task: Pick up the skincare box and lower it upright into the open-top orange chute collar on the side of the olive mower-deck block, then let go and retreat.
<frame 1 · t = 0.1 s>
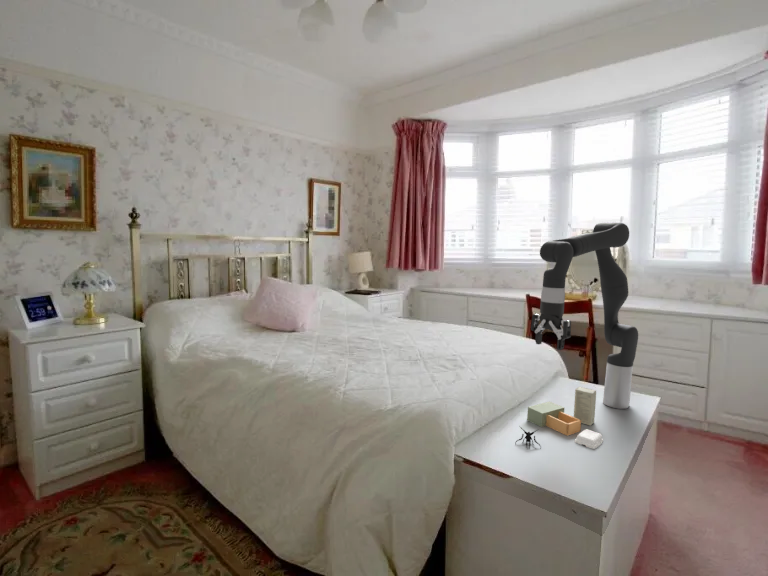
hand: (548, 346, 146), 29 cm above the table, fingers open, 8 cm apart
skincare box: (583, 422, 155), on the table
soap: (588, 442, 140), on the table
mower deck: (562, 428, 149), on the table
creature: (527, 446, 136), on the table
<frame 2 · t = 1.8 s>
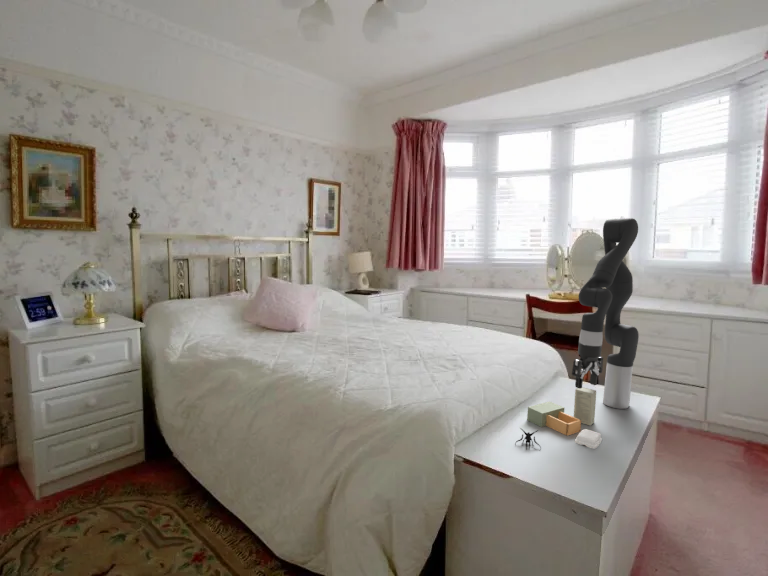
hand: (585, 386, 154), 13 cm above the table, fingers open, 8 cm apart
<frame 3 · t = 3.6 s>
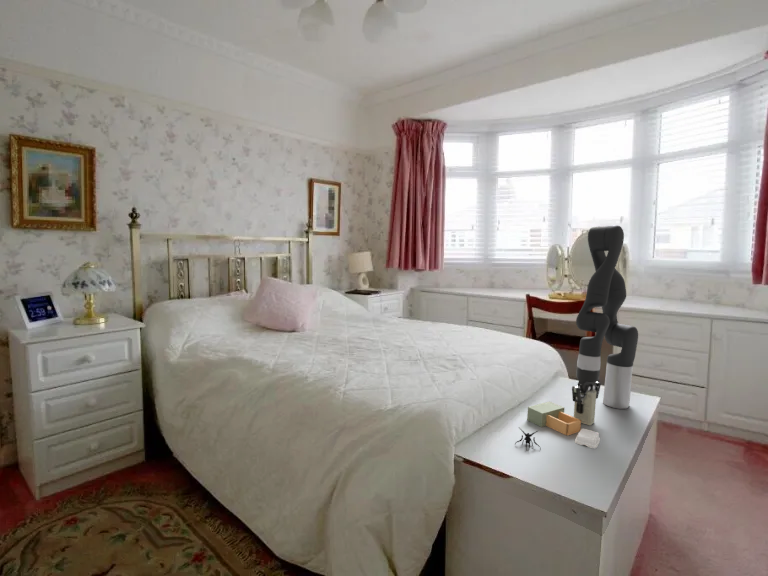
hand: (584, 411, 155), 4 cm above the table, fingers closed on skincare box, 5 cm apart
skincare box: (583, 422, 155), on the table, touching gripper
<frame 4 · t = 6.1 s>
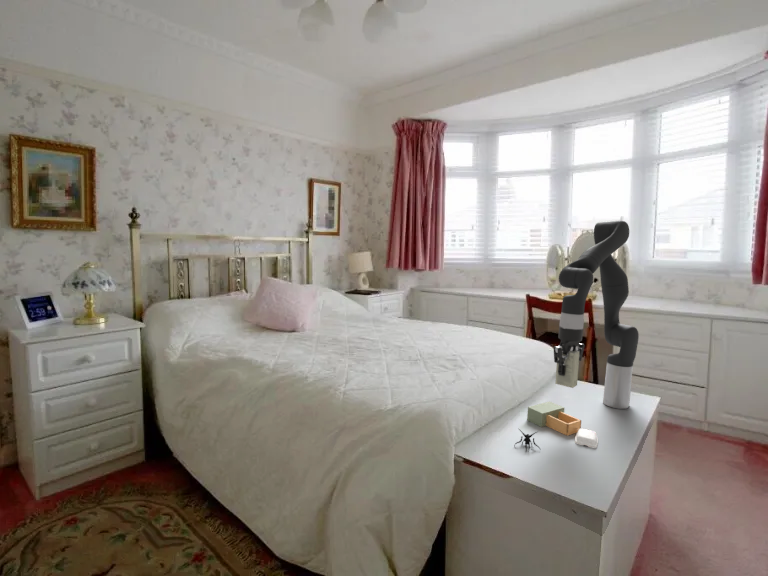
hand: (566, 373, 147), 20 cm above the table, fingers closed on skincare box, 5 cm apart
skincare box: (565, 385, 147), point 16 cm above the table, touching gripper
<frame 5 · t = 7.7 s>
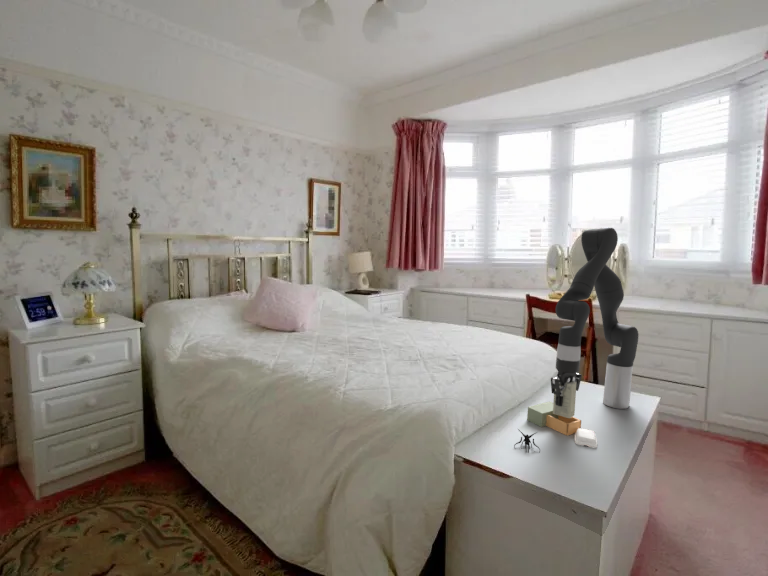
hand: (564, 403, 148), 9 cm above the table, fingers closed on skincare box, 5 cm apart
skincare box: (563, 415, 149), point 5 cm above the table, touching gripper
when the fingers open (7 cm above the table, at t = 8.9 s): skincare box drops 3 cm, resting in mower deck.
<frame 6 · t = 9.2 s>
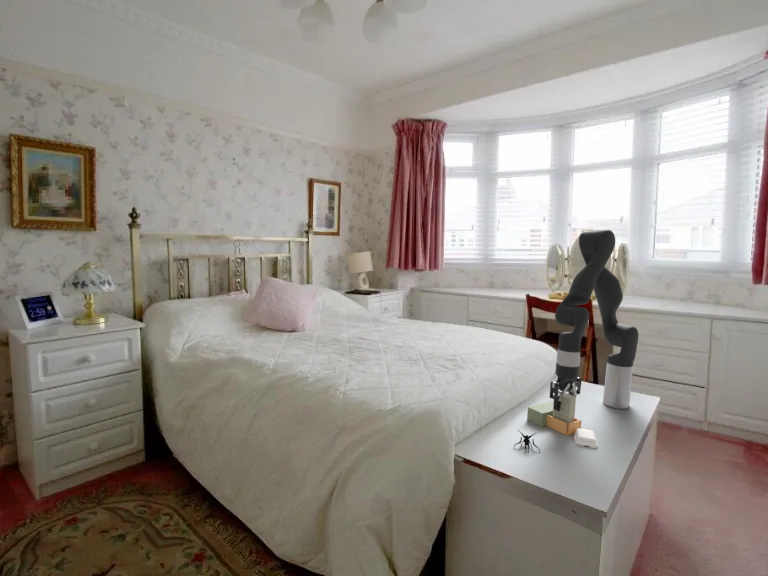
hand: (563, 408, 148), 7 cm above the table, fingers open, 7 cm apart
skincare box: (562, 428, 149), resting in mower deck
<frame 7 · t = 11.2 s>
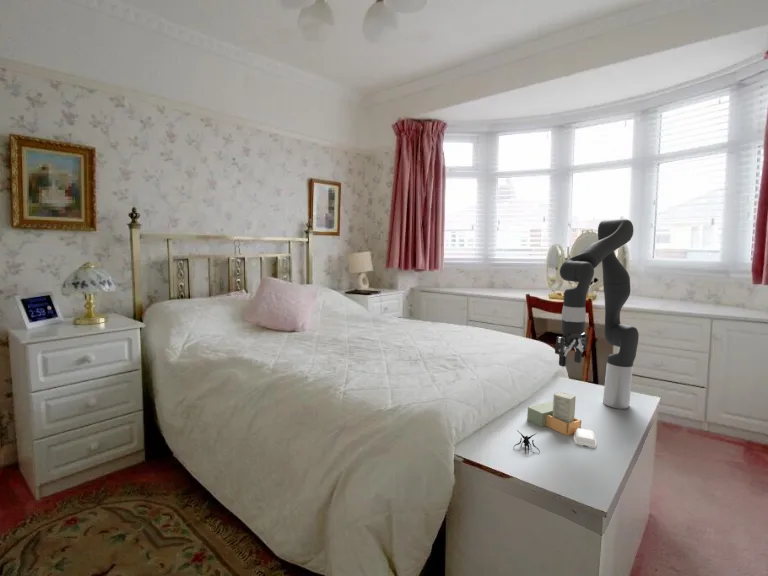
hand: (570, 364, 149), 23 cm above the table, fingers open, 8 cm apart
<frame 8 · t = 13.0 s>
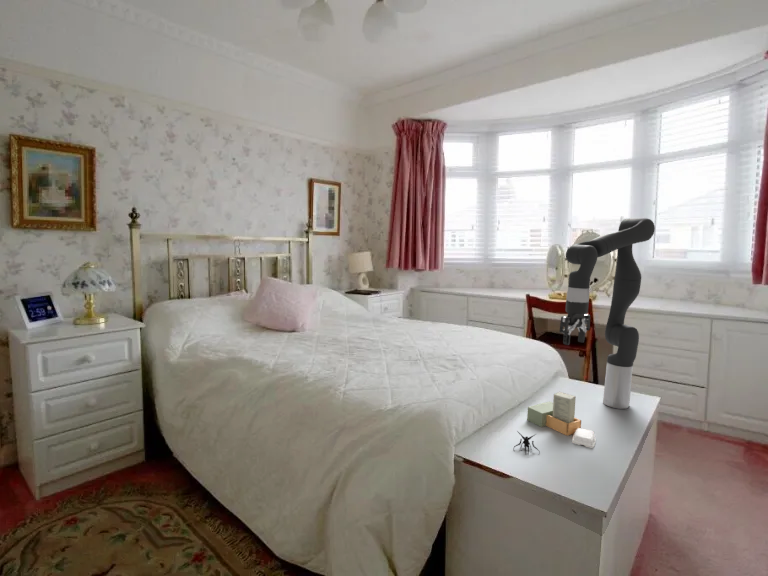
hand: (573, 343, 157), 28 cm above the table, fingers open, 8 cm apart
at the end: skincare box 0.0 cm off-centre on the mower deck, point 0.0 cm above the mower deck's base; skincare box tilted 0°; the gripper is holding nothing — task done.
